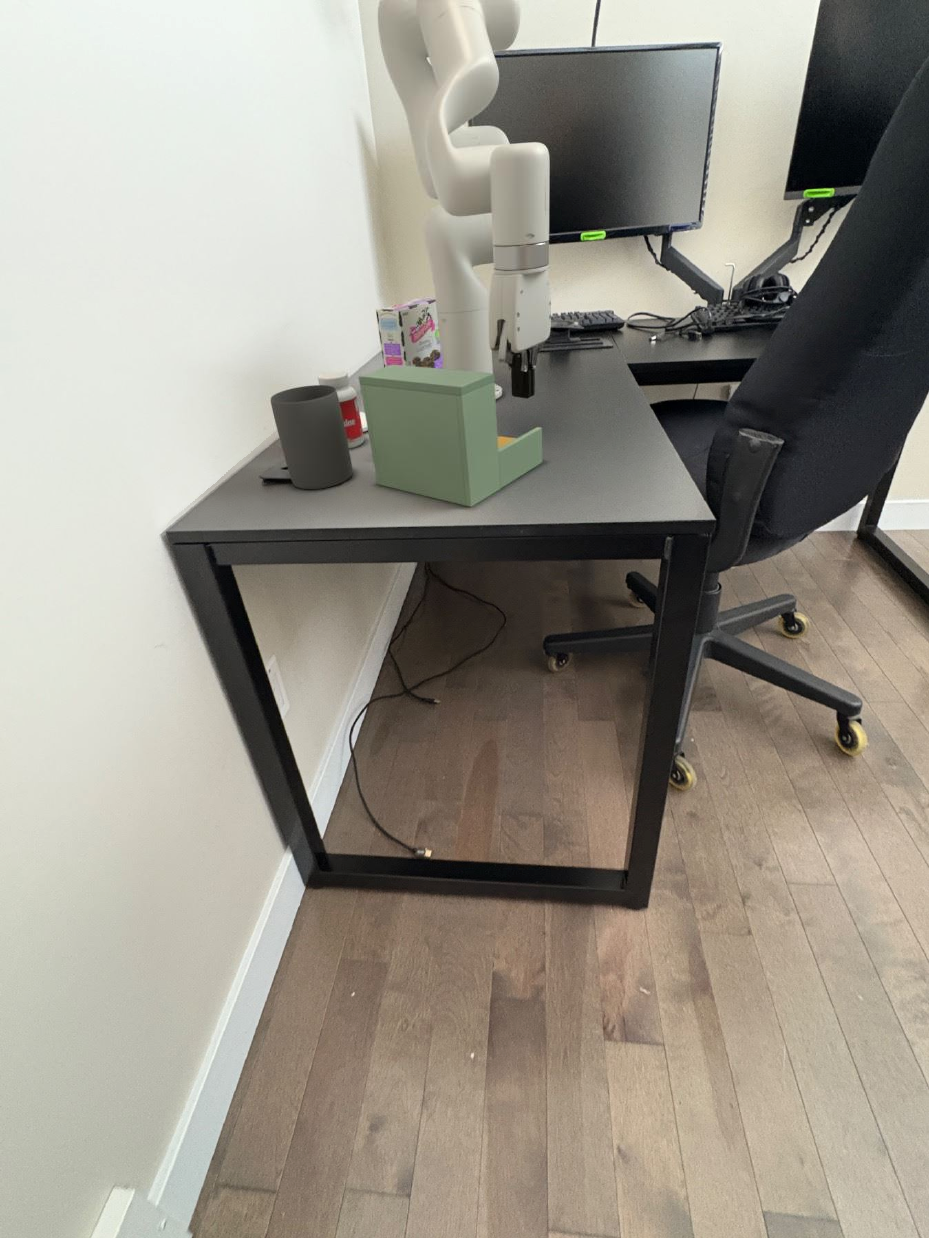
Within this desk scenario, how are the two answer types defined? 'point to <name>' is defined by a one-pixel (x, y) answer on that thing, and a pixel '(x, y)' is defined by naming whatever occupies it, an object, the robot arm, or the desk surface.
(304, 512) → the desk surface
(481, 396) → the green block
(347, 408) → the pill bottle
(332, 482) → the mug
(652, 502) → the desk surface
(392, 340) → the candy box
